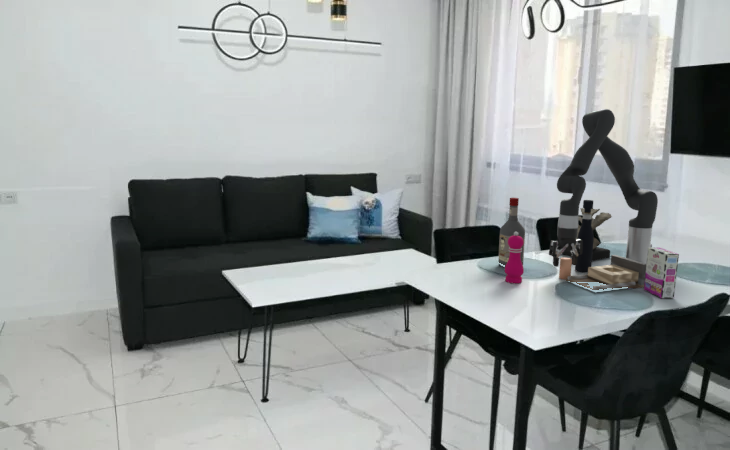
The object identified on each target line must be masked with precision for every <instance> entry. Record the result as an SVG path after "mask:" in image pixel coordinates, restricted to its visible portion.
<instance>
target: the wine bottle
mask: <svg viewBox="0 0 730 450" xmlns="http://www.w3.org/2000/svg"><path fill="white" fill-rule="evenodd" d="M582 208H584V209H585V210H584V213H585V214H583V216H582V218H583V219H582V223H581V225H580V227H581V228H580V230H579V233H578V237H577V239H580V240H583V250H582V254H580V255H578V257H577V264H576V265H574V271H576V272H578V273H585V274H588V267H593V266H592V265H593V261H592V254H593V242H594V238H595V237H594V236H595V235H594V230H592V226H591V224H592V219H591V209H594V200H592V199H584V200H583V202H582Z"/></svg>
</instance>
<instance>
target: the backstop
mask: <svg viewBox="0 0 730 450" xmlns="http://www.w3.org/2000/svg"><path fill="white" fill-rule="evenodd" d="M610 265H617V266H620V267H623V268H626V269H629V270H632V271H636V272H639V275H638V283H637V284H635V282H626V283H618V284H609V285H600V286H593V289H592V288H590V286H587V285H589V284H588V283H577V282H598V281H595V280H593V279H590V278H588V273H585V274H578V275H571V276H568V279H566V280H565V282H566V281H570V282H576V283H577V284H579V285H582V286H584V287H587V288H590V289H592V290H599V289H603V290H604V289H607V288H612V289H613V288H622V287H628V288H633V289H639V288H640V289H641V288H644V284H645V274H646V265H647V264H645V263H641V262H638V261H635V260H631V259H628V258H626V256H625V257H624V256H620V255H618V254H610ZM599 283H601V282H599ZM633 289H632V290H633Z"/></svg>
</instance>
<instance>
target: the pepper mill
mask: <svg viewBox="0 0 730 450" xmlns="http://www.w3.org/2000/svg"><path fill="white" fill-rule="evenodd" d="M523 244H524V245H525V243H524V241H523V238H522V237H520V236H518V232H514V235H513V236H511V237H509V239H508V245H509V246H510V247H509V251H510V255H509V260H508V262H507V264H506V266H505V268H504V273H505V274H506V276H505V278H504V279H505V283H509V284H521V283H522V282H523V275H524V269H525V268H524V264H523V265H522V262H521V258H520V254H521V252H522V248H521V247H522V246H523Z"/></svg>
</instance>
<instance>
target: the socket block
mask: <svg viewBox="0 0 730 450" xmlns="http://www.w3.org/2000/svg"><path fill="white" fill-rule="evenodd" d="M587 274H588V278H590V279H593V280H595V281H598V282H601V283H603V284H606V285H609V284H618V283H626V282H635V284H637V283H638V275H639V272H636V271H632V270H629V269H626V268H623V267H620V266H617V265H611V264H606V265H597V266H592V267H588V273H587Z"/></svg>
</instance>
